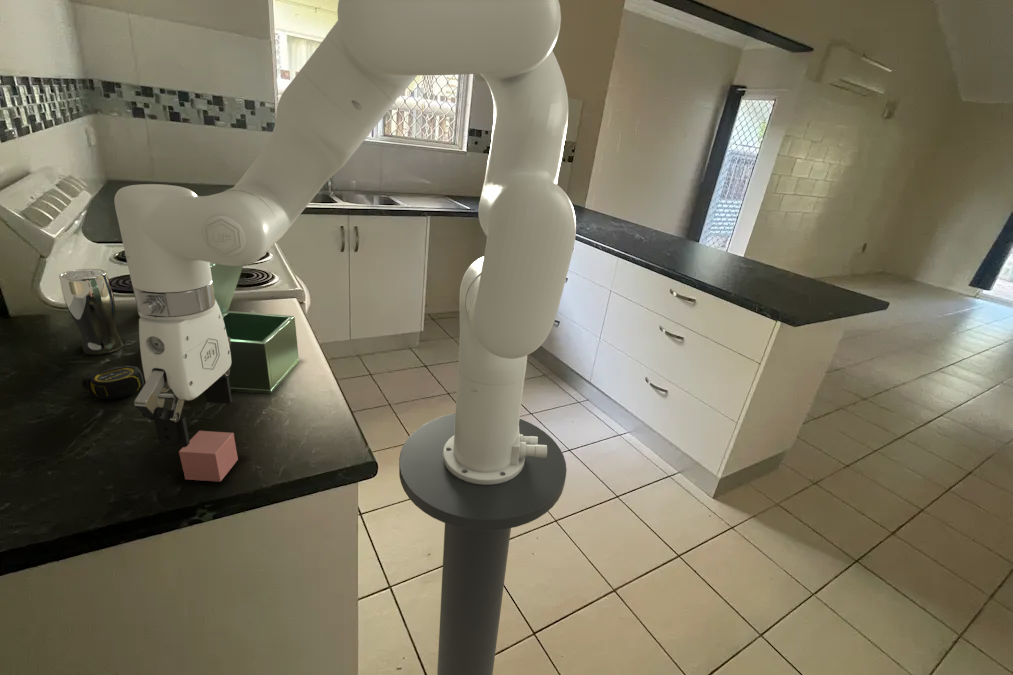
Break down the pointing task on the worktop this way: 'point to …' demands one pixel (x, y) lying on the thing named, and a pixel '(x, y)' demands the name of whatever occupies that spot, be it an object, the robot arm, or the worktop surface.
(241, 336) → the green lidded box
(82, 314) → the beer glass
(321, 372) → the worktop surface
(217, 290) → the green box lid
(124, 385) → the tape measure
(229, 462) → the pink cube
